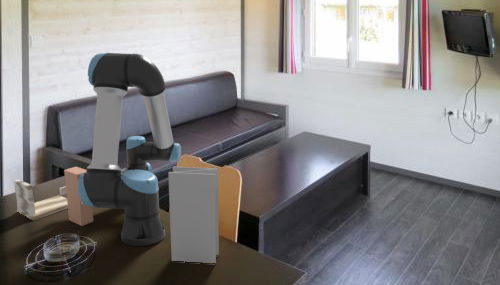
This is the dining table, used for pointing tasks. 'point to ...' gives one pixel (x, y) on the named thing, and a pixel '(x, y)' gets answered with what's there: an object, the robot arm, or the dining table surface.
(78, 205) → the salmon pink rectangular block
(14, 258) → the dining table surface
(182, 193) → the brochure
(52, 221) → the dining table surface
